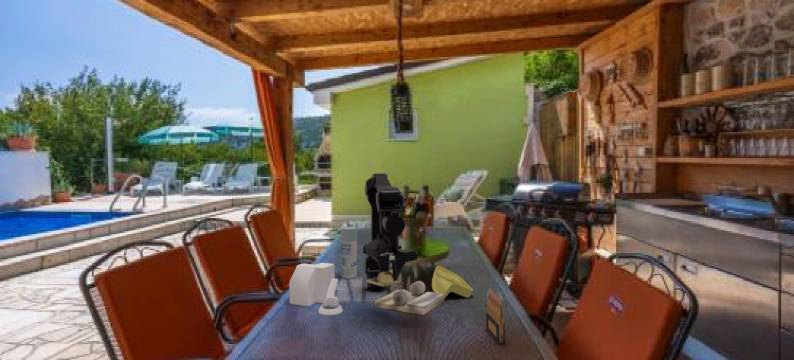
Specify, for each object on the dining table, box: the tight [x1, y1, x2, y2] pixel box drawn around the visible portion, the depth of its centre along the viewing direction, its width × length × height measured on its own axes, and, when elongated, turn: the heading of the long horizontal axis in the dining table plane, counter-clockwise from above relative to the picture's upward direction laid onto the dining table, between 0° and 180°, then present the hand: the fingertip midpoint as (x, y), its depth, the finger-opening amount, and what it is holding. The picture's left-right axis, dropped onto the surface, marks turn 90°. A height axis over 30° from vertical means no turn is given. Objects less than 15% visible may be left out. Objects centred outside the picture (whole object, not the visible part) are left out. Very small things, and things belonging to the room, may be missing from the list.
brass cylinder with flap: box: [366, 268, 402, 287], centre depth 154 cm, size 6×9×4 cm, turn 45°
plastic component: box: [431, 265, 474, 299], centre depth 178 cm, size 20×7×10 cm
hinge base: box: [373, 280, 445, 316], centre depth 164 cm, size 18×16×6 cm
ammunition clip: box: [485, 288, 506, 345], centre depth 134 cm, size 11×2×12 cm, turn 7°
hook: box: [317, 278, 343, 316], centre depth 159 cm, size 8×12×7 cm
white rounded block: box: [288, 262, 336, 307], centre depth 168 cm, size 11×11×12 cm
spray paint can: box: [340, 226, 358, 280], centre depth 199 cm, size 6×6×20 cm
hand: (389, 279), depth 153 cm, fingers closed on brass cylinder with flap, 4 cm apart
